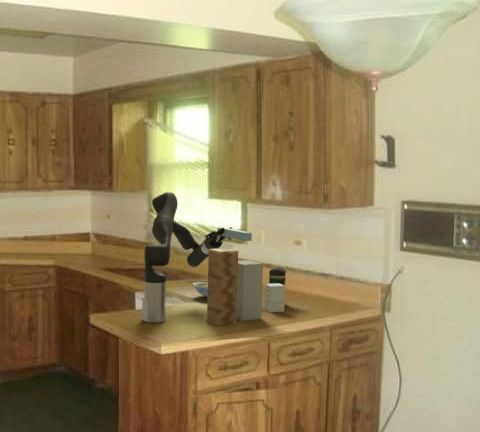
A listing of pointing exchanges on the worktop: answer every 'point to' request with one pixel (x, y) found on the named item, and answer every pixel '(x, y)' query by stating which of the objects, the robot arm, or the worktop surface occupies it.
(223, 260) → the walnut stand
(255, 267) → the grey step
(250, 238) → the blue bar
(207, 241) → the robot arm
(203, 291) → the ramen bowl
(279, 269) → the coffee jar
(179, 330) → the worktop surface
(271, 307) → the supplement box
